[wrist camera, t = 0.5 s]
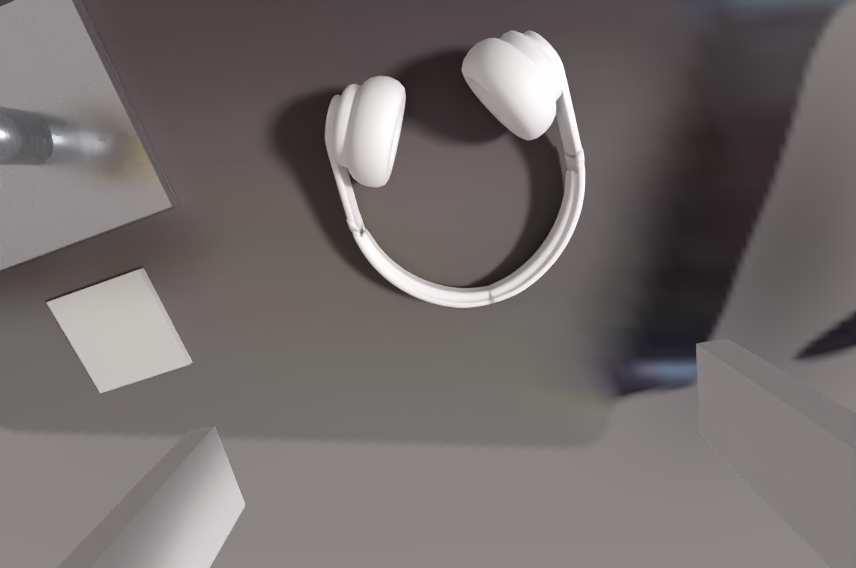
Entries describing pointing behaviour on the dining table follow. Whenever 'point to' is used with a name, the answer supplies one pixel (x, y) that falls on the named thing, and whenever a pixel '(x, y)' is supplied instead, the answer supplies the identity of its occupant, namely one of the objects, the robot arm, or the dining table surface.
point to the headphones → (509, 102)
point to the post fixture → (67, 136)
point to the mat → (120, 331)
